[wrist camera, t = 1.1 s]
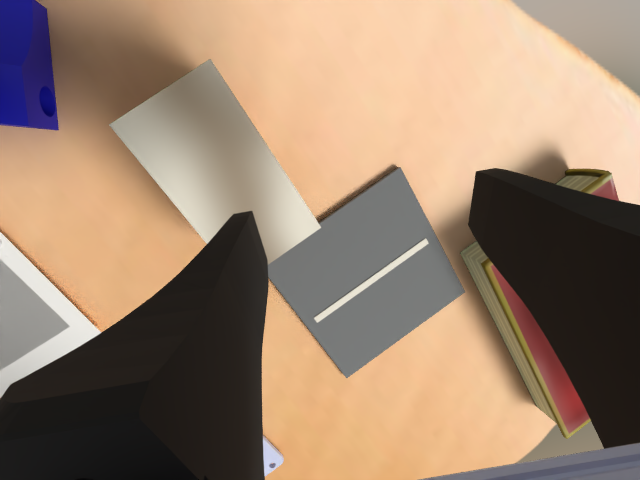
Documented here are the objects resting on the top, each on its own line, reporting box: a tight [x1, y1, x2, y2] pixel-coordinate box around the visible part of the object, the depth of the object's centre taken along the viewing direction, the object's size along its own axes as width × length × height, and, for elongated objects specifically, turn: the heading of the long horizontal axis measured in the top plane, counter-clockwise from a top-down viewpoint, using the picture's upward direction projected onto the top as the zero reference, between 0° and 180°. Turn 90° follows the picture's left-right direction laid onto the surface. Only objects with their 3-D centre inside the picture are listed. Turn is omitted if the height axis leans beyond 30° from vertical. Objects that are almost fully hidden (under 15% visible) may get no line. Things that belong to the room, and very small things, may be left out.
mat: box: [268, 167, 465, 378], centre depth 25 cm, size 12×12×1 cm
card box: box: [109, 59, 321, 264], centre depth 18 cm, size 5×9×6 cm, turn 33°
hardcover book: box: [460, 169, 619, 439], centre depth 29 cm, size 12×21×4 cm, turn 33°
